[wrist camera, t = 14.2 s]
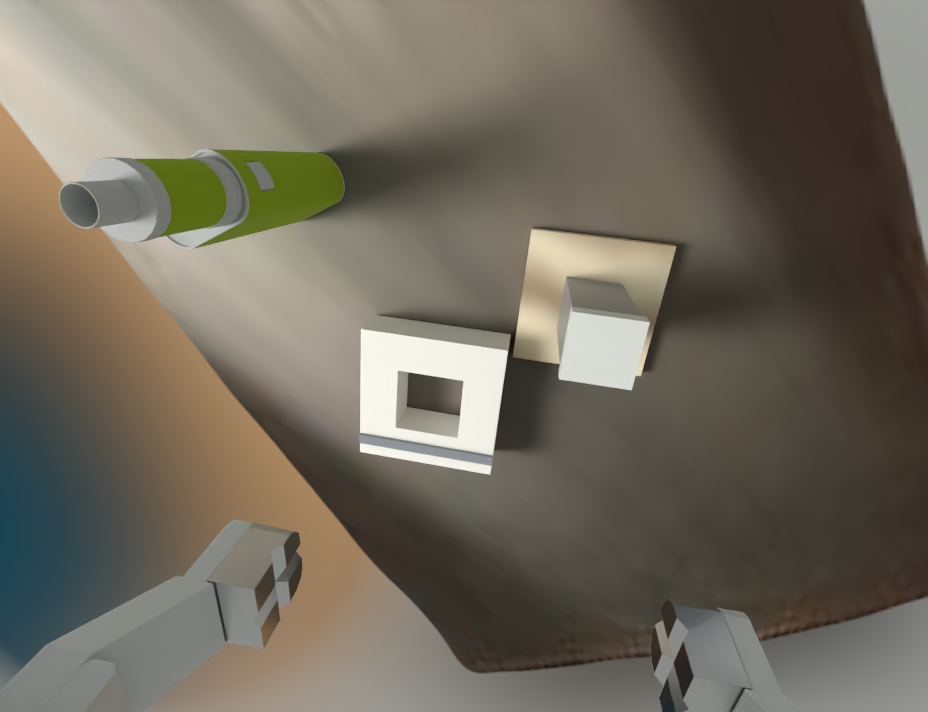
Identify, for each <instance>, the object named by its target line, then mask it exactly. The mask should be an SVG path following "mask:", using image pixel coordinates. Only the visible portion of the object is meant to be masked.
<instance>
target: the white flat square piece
mask: <svg viewBox="0 0 928 712" xmlns="http://www.w3.org/2000/svg"><path fill="white" fill-rule="evenodd" d="M510 337H511V334H505V333H498V332H491V331H484V330H477V329H470V328H463V327H456V326H449V325H442V324H435V323H428V322H421V321H414V320H407V319H400V318H393V317H386V316H379V315H375V316H374V317H373V318H372V319H371V320H370V321H369V322H368V323H367V324H366V325H365V326H364V327H363V328H362V329H361V401H360V434H359V443H360V452H365V453H370V454H376V455H382V456H387V457H393V458H399V459H404V460H410V461H416V462H421V463H427V464H433V465H439V466H444V467H450V468H456V469H461V470H467V471H473V472H478V473H484V474H490V472H491V466H492V460H493V454H494V447H495V440H496V433H497V427H498V420H499V413H500V406H501V399H502V392H503V385H504V378H505V371H506V365H507V358H508V351H509V344H510ZM409 372H410V373H416V374H423V375H429V376H436V377H442V378H448V379H455V380H461V381H464V383H463V393H462V402H461V412H460V416H459V415H453V414H447V413H441V412H434V411H428V410H422V409H416V408H410V407H407V393H408V374H409Z"/></svg>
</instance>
